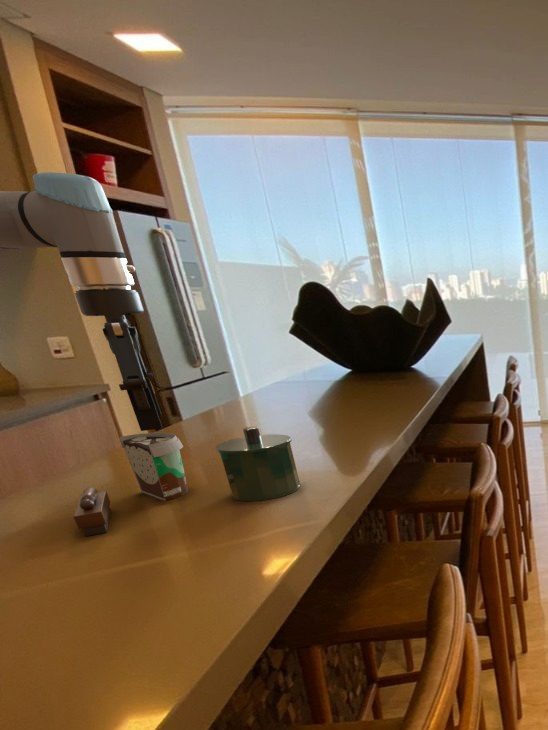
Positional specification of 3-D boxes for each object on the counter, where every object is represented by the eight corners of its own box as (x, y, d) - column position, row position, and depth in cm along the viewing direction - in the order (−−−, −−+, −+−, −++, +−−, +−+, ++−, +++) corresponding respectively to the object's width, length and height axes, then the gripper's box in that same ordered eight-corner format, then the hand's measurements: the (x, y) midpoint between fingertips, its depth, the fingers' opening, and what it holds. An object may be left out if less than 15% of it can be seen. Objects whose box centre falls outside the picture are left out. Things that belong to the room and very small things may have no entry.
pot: (230, 490, 101) (216, 444, 98) (294, 478, 107) (283, 434, 104) (236, 505, 94) (221, 456, 90) (305, 492, 100) (293, 445, 96)
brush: (88, 514, 91) (77, 485, 89) (113, 509, 92) (102, 481, 91) (82, 538, 82) (69, 506, 80) (109, 532, 84) (97, 502, 82)
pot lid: (214, 447, 98) (208, 427, 97) (286, 437, 104) (281, 417, 103) (220, 461, 90) (213, 439, 89) (297, 449, 97) (292, 428, 95)
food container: (210, 491, 100) (193, 437, 96) (169, 502, 95) (150, 445, 92) (177, 481, 106) (160, 428, 102) (137, 490, 101) (118, 436, 97)
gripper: (134, 287, 81) (182, 431, 89) (138, 288, 99) (177, 408, 107) (63, 288, 77) (119, 439, 85) (80, 289, 95) (125, 414, 103)
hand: (152, 422), depth 96 cm, fingers open, 13 cm apart
